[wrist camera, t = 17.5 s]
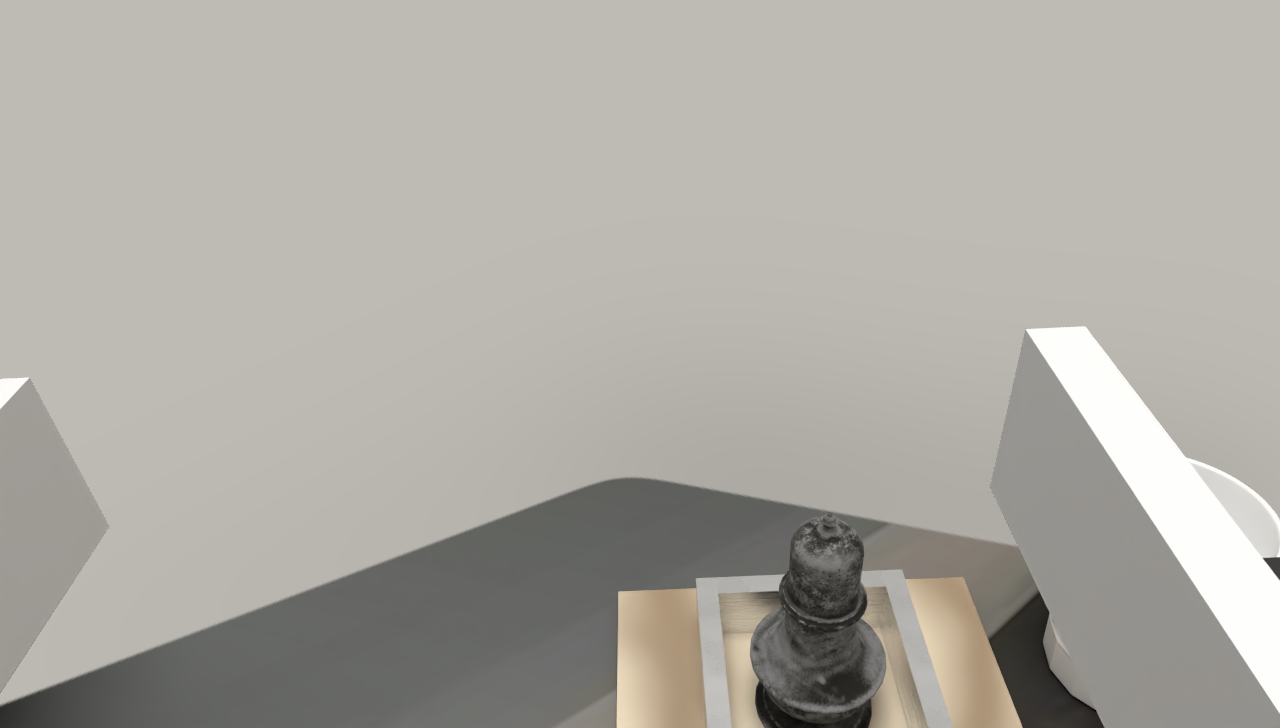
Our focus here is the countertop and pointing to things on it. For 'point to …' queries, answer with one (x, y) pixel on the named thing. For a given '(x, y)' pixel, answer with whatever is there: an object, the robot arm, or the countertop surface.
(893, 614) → the collar
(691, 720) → the flange board
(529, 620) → the countertop surface
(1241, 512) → the white cup
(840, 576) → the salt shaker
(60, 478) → the robot arm
